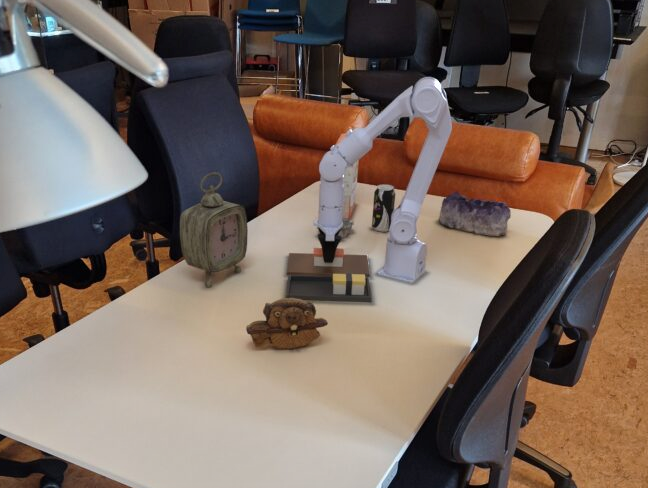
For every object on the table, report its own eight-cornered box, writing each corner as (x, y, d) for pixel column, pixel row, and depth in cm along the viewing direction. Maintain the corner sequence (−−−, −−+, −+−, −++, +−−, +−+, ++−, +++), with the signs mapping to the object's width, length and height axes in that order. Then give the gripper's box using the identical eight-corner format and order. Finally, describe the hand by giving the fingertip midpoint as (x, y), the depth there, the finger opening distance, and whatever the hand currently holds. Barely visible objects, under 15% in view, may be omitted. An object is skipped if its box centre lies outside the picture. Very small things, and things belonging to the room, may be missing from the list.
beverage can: (367, 227, 204) (370, 184, 197) (385, 224, 206) (388, 182, 199) (378, 234, 199) (381, 191, 193) (395, 231, 201) (400, 188, 195)
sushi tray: (368, 283, 172) (369, 276, 171) (370, 303, 163) (371, 297, 162) (288, 280, 173) (288, 274, 172) (286, 301, 164) (286, 294, 163)
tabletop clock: (208, 292, 167) (202, 184, 153) (180, 282, 172) (172, 176, 158) (248, 272, 177) (246, 169, 163) (220, 263, 181) (216, 162, 168)
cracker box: (350, 220, 208) (355, 145, 197) (330, 218, 209) (333, 144, 198) (356, 204, 220) (361, 133, 208) (337, 203, 221) (340, 132, 209)
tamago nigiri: (363, 287, 169) (364, 273, 167) (364, 295, 166) (365, 281, 164) (332, 286, 169) (332, 272, 168) (332, 294, 166) (333, 280, 164)
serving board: (367, 259, 184) (367, 255, 184) (369, 278, 174) (370, 274, 174) (289, 257, 185) (289, 252, 184) (287, 276, 175) (287, 271, 174)
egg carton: (337, 243, 193) (338, 228, 191) (313, 237, 197) (313, 223, 194) (356, 231, 201) (357, 217, 199) (332, 226, 204) (333, 212, 202)
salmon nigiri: (342, 260, 181) (343, 248, 179) (343, 266, 177) (343, 254, 175) (313, 259, 181) (313, 247, 179) (313, 266, 177) (313, 253, 176)
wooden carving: (250, 357, 143) (249, 311, 137) (245, 346, 146) (244, 301, 141) (329, 347, 146) (331, 302, 141) (322, 336, 150) (324, 292, 144)
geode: (431, 229, 203) (435, 193, 198) (442, 222, 212) (446, 187, 208) (504, 239, 195) (510, 201, 191) (512, 231, 204) (518, 195, 200)
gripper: (314, 194, 177) (312, 246, 184) (313, 214, 165) (311, 269, 172) (343, 195, 177) (340, 247, 184) (344, 215, 165) (341, 270, 172)
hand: (328, 258), depth 178 cm, fingers closed on salmon nigiri, 4 cm apart
